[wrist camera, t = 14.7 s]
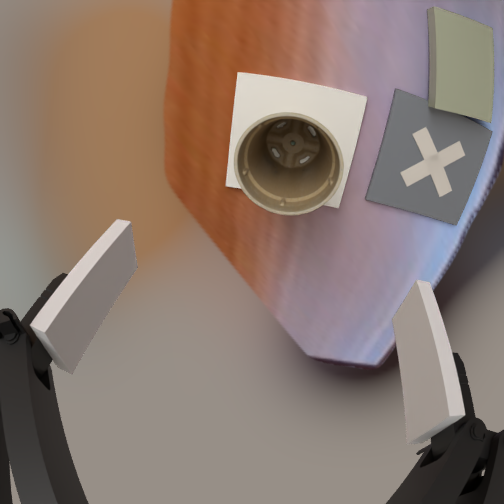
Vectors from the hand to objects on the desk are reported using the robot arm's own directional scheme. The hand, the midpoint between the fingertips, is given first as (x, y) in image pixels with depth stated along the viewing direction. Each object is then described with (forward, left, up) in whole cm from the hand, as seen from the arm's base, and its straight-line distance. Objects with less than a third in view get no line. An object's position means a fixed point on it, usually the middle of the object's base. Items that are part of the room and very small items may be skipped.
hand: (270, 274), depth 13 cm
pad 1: (0, 0, -24) cm, 24 cm away
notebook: (-15, +17, -23) cm, 32 cm away
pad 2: (-2, +17, -24) cm, 29 cm away
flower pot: (0, 0, -23) cm, 23 cm away
